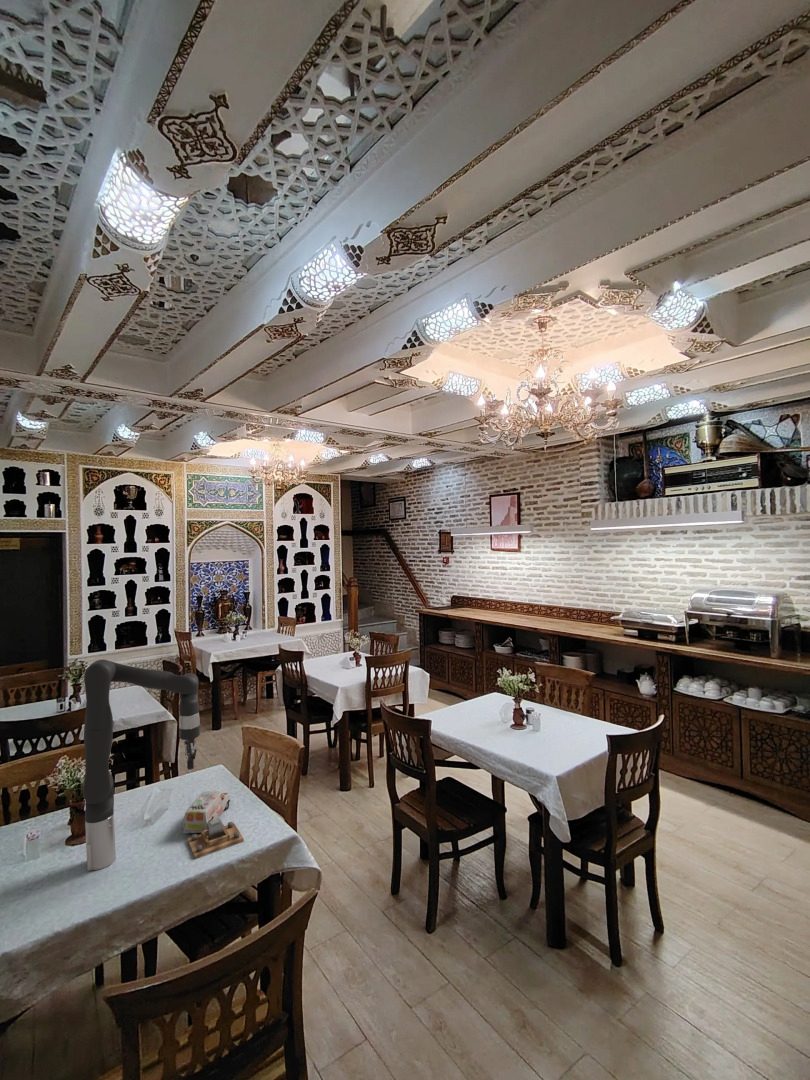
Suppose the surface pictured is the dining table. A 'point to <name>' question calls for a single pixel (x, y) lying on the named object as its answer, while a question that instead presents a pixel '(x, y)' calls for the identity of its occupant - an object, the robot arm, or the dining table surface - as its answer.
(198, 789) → the dining table surface
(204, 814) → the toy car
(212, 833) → the block
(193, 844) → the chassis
